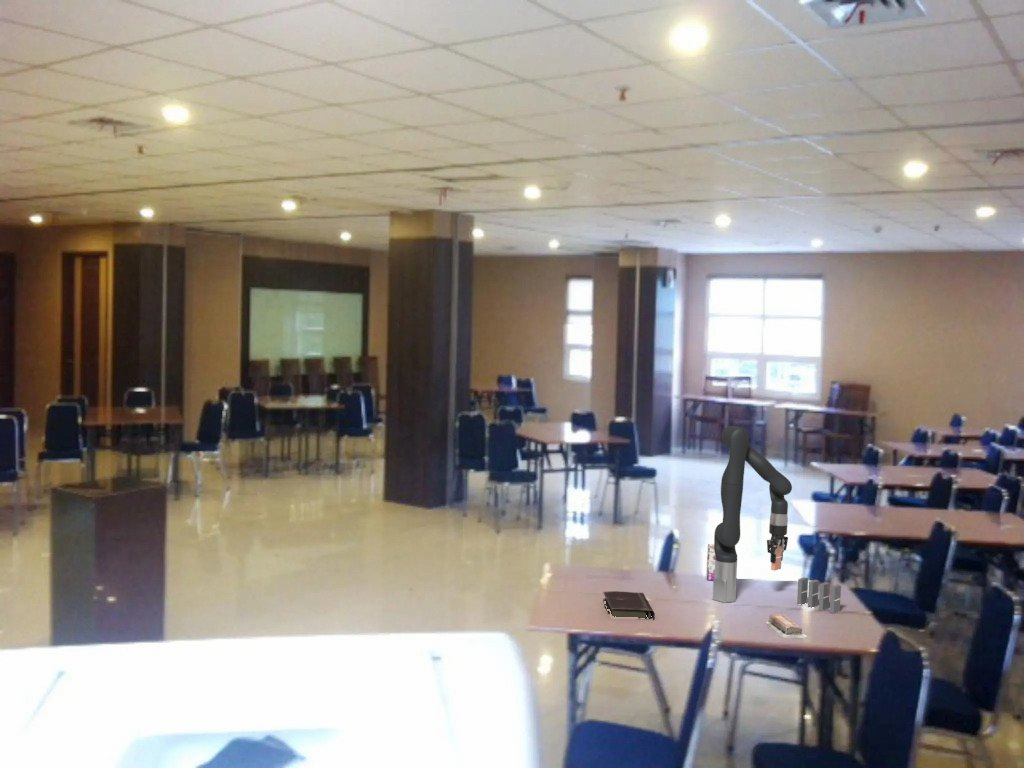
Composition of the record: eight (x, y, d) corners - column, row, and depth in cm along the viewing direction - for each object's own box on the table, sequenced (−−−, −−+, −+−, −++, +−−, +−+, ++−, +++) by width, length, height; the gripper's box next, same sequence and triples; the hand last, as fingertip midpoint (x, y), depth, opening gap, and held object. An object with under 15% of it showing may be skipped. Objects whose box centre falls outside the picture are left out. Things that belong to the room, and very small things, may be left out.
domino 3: (817, 605, 404) (819, 580, 404) (811, 608, 401) (812, 582, 400) (813, 604, 406) (814, 579, 405) (807, 607, 402) (808, 581, 401)
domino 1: (781, 568, 416) (782, 544, 416) (774, 570, 413) (776, 545, 412) (777, 567, 418) (778, 543, 417) (770, 569, 414) (772, 544, 414)
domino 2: (807, 603, 408) (808, 578, 407) (801, 605, 404) (802, 580, 404) (803, 602, 409) (804, 577, 408) (797, 604, 406) (798, 579, 405)
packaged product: (764, 613, 378) (788, 612, 379) (763, 625, 378) (787, 624, 379) (783, 627, 360) (807, 627, 361) (782, 640, 360) (807, 639, 361)
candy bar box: (707, 580, 440) (708, 546, 439) (706, 578, 445) (707, 543, 444) (731, 582, 439) (733, 547, 438) (730, 579, 444) (731, 544, 443)
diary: (644, 603, 404) (644, 592, 404) (654, 621, 380) (655, 609, 379) (600, 602, 404) (601, 590, 404) (608, 620, 379) (608, 608, 379)
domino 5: (839, 611, 397) (841, 585, 396) (833, 613, 393) (835, 587, 393) (835, 610, 398) (836, 584, 398) (829, 612, 395) (830, 586, 394)
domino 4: (828, 608, 401) (829, 583, 400) (822, 611, 397) (823, 585, 396) (824, 607, 402) (825, 582, 401) (818, 609, 398) (819, 584, 398)
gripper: (779, 519, 422) (777, 557, 423) (762, 523, 412) (759, 562, 413) (794, 522, 416) (792, 560, 417) (777, 526, 406) (775, 565, 407)
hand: (776, 561), depth 415 cm, fingers closed on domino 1, 5 cm apart
